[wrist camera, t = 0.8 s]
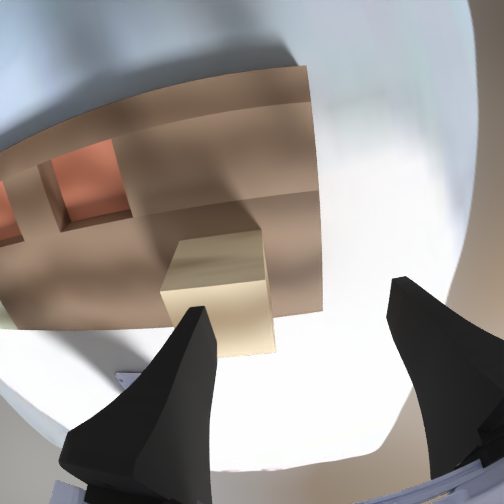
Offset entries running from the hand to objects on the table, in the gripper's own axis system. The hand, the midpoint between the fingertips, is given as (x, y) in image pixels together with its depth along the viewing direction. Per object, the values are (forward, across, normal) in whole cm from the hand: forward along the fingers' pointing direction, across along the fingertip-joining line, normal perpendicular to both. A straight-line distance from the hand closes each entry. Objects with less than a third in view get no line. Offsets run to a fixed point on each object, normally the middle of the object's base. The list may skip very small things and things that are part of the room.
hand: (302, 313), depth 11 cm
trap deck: (+10, +16, -1) cm, 19 cm away
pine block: (+8, +4, +2) cm, 9 cm away
